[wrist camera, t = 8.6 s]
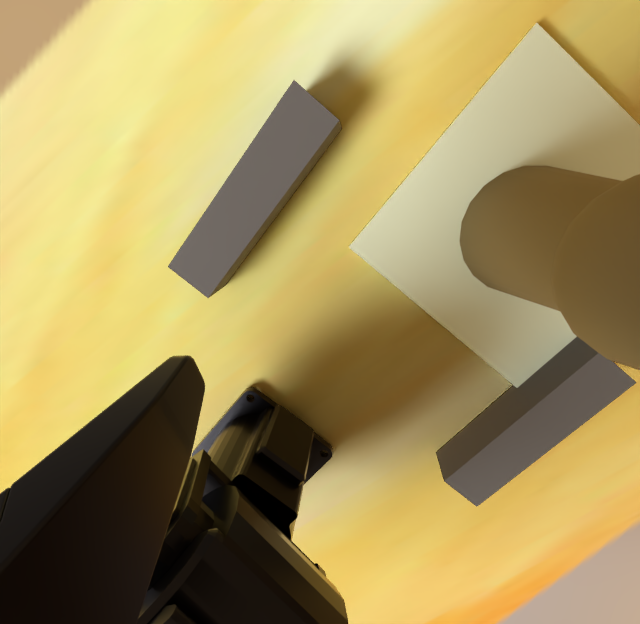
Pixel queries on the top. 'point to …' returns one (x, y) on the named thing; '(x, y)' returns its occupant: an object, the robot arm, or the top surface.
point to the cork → (563, 250)
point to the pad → (476, 171)
